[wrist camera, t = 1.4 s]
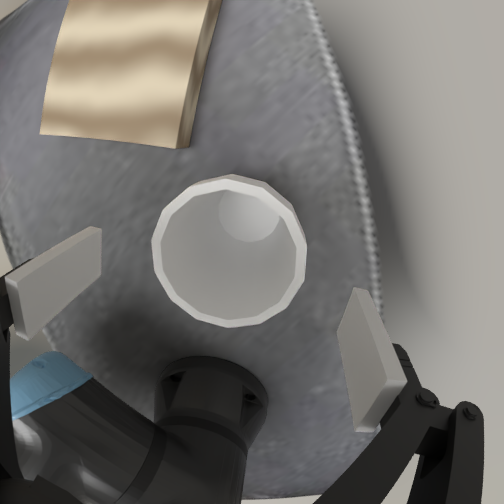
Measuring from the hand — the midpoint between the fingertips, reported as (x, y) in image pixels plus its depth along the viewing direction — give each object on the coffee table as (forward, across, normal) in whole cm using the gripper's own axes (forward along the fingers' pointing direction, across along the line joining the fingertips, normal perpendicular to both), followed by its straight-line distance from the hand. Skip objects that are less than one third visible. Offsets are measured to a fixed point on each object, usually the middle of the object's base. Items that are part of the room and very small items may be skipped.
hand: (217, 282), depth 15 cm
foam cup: (+17, 0, 0) cm, 17 cm away
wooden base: (+16, +15, -13) cm, 26 cm away
